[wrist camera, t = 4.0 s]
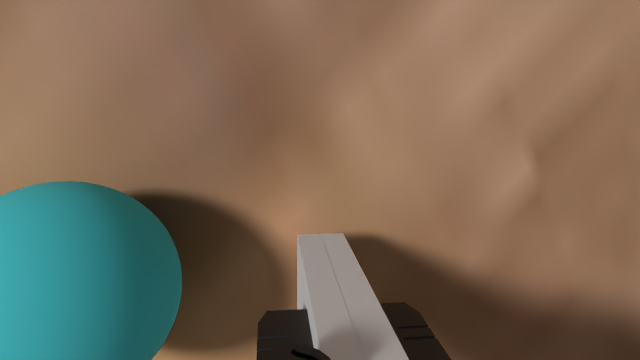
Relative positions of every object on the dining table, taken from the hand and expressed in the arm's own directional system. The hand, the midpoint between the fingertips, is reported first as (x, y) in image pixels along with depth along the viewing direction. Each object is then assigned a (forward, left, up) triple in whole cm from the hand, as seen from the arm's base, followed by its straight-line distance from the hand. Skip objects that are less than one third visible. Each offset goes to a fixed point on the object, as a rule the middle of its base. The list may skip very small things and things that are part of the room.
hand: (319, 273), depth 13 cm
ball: (+7, 0, +1) cm, 7 cm away
